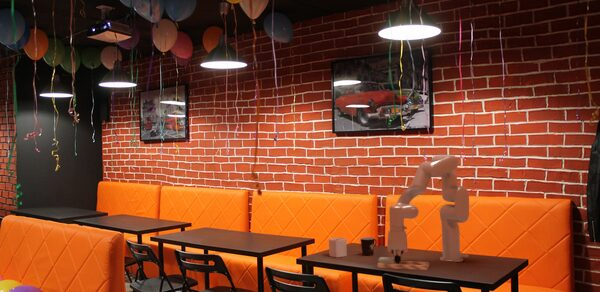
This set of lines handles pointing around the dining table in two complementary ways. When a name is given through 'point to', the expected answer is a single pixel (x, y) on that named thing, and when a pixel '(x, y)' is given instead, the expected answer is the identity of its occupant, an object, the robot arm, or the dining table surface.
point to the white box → (337, 247)
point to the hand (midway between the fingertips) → (397, 262)
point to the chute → (406, 265)
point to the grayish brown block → (386, 260)
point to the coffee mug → (367, 246)
